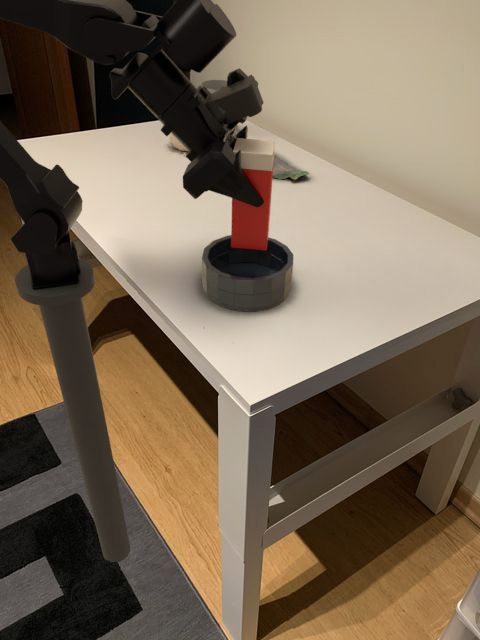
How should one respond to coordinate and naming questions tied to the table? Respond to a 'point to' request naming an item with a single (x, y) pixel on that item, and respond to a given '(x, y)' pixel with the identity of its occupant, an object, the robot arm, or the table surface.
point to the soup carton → (258, 167)
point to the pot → (247, 275)
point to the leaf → (285, 170)
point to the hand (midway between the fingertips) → (262, 196)
